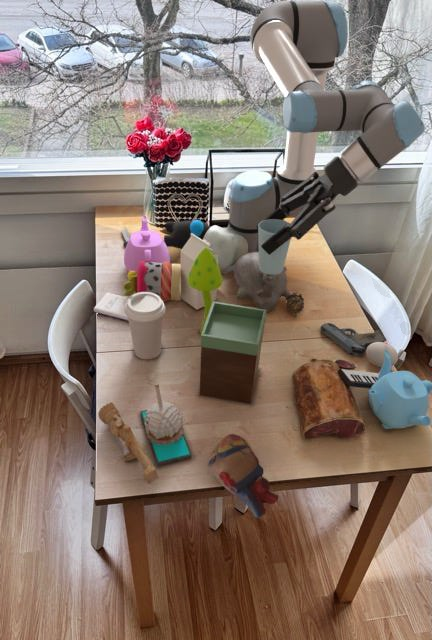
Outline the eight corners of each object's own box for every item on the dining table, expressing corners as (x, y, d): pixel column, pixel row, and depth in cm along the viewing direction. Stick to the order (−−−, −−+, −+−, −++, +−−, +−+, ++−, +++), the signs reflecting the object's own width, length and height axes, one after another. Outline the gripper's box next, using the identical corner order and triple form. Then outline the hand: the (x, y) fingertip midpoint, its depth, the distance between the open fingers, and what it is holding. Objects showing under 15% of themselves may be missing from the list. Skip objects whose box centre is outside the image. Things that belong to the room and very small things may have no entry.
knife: (110, 228, 175) (125, 225, 177) (111, 232, 176) (125, 228, 178) (133, 254, 165) (148, 250, 167) (133, 258, 166) (148, 254, 168)
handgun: (352, 309, 148) (320, 324, 143) (391, 337, 140) (359, 353, 135) (350, 316, 150) (318, 331, 144) (388, 344, 142) (356, 361, 137)
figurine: (147, 492, 107) (100, 429, 118) (165, 481, 109) (116, 419, 120) (141, 471, 102) (92, 407, 113) (160, 459, 103) (109, 397, 115)
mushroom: (197, 318, 146) (199, 234, 129) (225, 328, 144) (230, 244, 126) (181, 335, 141) (180, 250, 123) (209, 346, 138) (213, 261, 121)
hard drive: (136, 323, 144) (94, 312, 146) (149, 306, 149) (107, 296, 152) (136, 318, 142) (93, 308, 145) (148, 301, 148) (107, 291, 151)
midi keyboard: (390, 373, 132) (403, 387, 129) (387, 377, 133) (399, 391, 130) (340, 367, 123) (352, 382, 119) (336, 372, 123) (348, 386, 120)
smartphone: (157, 463, 111) (140, 411, 120) (157, 466, 111) (140, 413, 121) (192, 455, 112) (172, 404, 122) (192, 457, 113) (172, 406, 123)
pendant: (308, 293, 150) (296, 285, 147) (308, 317, 147) (296, 309, 144) (294, 300, 153) (282, 293, 150) (294, 323, 150) (281, 316, 147)
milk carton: (196, 310, 149) (198, 249, 135) (180, 298, 152) (180, 237, 139) (216, 300, 152) (219, 240, 139) (200, 289, 156) (201, 228, 142)
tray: (212, 312, 124) (212, 301, 122) (265, 320, 123) (266, 309, 120) (200, 346, 115) (200, 335, 113) (257, 356, 114) (258, 344, 112)
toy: (165, 210, 163) (215, 213, 162) (168, 236, 173) (215, 239, 172) (162, 232, 159) (213, 235, 158) (165, 258, 169) (213, 261, 168)
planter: (245, 230, 152) (211, 218, 155) (227, 272, 152) (194, 259, 155) (255, 244, 163) (223, 233, 166) (238, 283, 164) (207, 270, 167)
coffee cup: (150, 333, 141) (147, 284, 131) (174, 351, 136) (173, 302, 126) (120, 349, 136) (115, 300, 126) (144, 369, 131) (141, 320, 121)
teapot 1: (173, 284, 157) (172, 248, 148) (126, 287, 155) (122, 250, 146) (166, 248, 170) (165, 212, 162) (123, 249, 169) (120, 214, 160)
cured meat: (351, 359, 137) (358, 338, 132) (382, 436, 119) (390, 415, 115) (281, 361, 135) (284, 340, 130) (301, 439, 118) (306, 418, 113)
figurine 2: (375, 330, 135) (370, 352, 140) (364, 342, 132) (359, 363, 136) (405, 343, 132) (399, 364, 136) (395, 355, 128) (389, 376, 133)
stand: (210, 361, 134) (212, 312, 124) (258, 369, 133) (264, 320, 123) (199, 395, 126) (200, 346, 116) (250, 404, 125) (256, 355, 114)
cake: (179, 288, 156) (126, 285, 155) (180, 255, 149) (125, 251, 148) (178, 309, 149) (123, 306, 147) (180, 275, 142) (122, 272, 140)
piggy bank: (295, 312, 147) (273, 276, 138) (242, 331, 154) (218, 298, 145) (292, 270, 159) (272, 234, 149) (243, 289, 165) (220, 256, 156)
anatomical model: (198, 454, 114) (240, 510, 115) (204, 464, 101) (251, 528, 103) (234, 427, 114) (275, 483, 116) (244, 434, 102) (290, 497, 103)
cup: (293, 274, 124) (300, 230, 118) (264, 279, 122) (268, 235, 115) (278, 259, 130) (283, 217, 123) (249, 264, 127) (252, 221, 120)
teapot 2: (348, 417, 122) (364, 381, 114) (369, 382, 130) (385, 347, 122) (414, 450, 117) (435, 415, 109) (431, 412, 126) (451, 377, 118)
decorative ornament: (160, 414, 121) (151, 365, 110) (190, 426, 118) (183, 377, 107) (140, 438, 116) (128, 390, 105) (170, 452, 113) (162, 404, 103)
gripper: (372, 205, 106) (279, 276, 116) (347, 161, 120) (267, 227, 131) (351, 178, 102) (257, 254, 112) (328, 136, 116) (246, 206, 126)
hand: (262, 240), depth 121 cm, fingers closed on cup, 8 cm apart
